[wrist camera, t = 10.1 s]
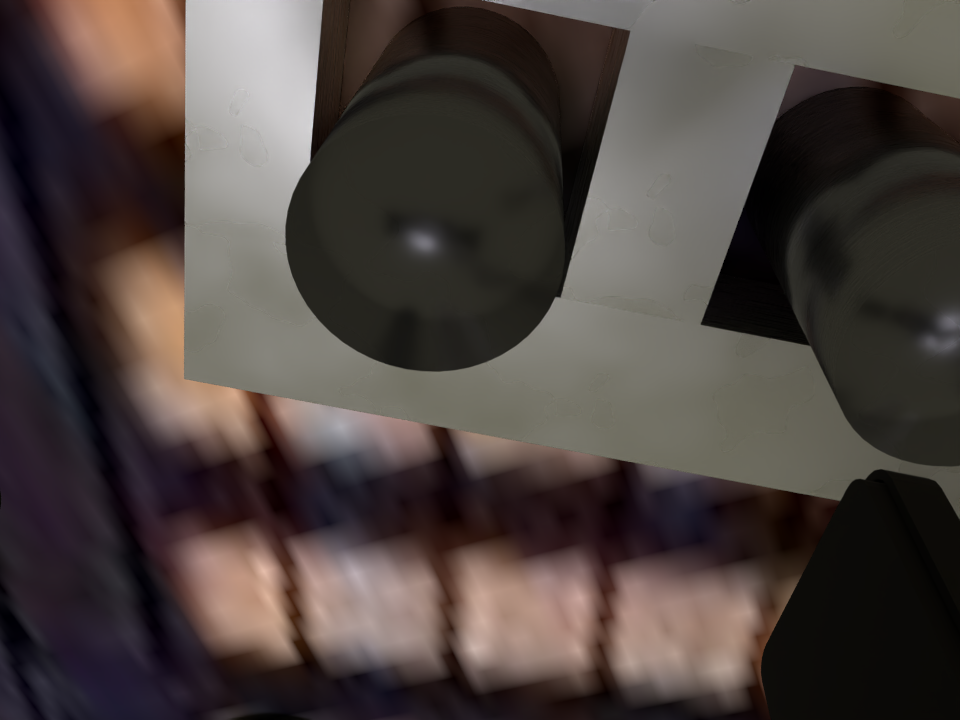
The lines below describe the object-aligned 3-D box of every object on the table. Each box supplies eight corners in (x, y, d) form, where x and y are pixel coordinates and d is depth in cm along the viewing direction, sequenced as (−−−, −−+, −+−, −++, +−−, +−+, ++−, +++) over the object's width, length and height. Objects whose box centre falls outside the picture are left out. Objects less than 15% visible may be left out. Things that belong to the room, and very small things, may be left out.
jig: (1246, -97, 18) (1684, -35, 11) (929, 452, 25) (1072, 692, 18) (241, -317, 17) (35, -400, 10) (222, 318, 24) (95, 518, 17)
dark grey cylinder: (579, 28, 20) (596, 147, 13) (537, 211, 22) (532, 392, 15) (382, -12, 19) (294, 86, 13) (361, 176, 22) (277, 345, 15)
